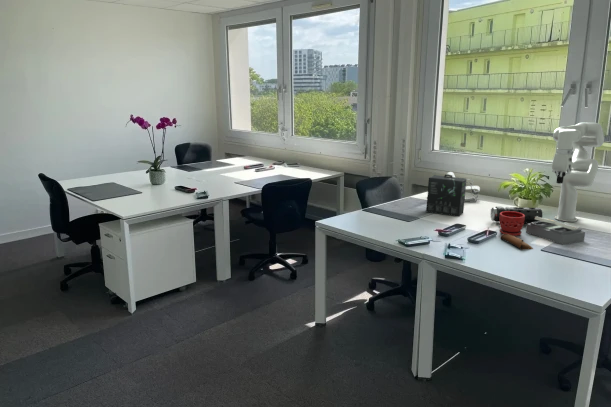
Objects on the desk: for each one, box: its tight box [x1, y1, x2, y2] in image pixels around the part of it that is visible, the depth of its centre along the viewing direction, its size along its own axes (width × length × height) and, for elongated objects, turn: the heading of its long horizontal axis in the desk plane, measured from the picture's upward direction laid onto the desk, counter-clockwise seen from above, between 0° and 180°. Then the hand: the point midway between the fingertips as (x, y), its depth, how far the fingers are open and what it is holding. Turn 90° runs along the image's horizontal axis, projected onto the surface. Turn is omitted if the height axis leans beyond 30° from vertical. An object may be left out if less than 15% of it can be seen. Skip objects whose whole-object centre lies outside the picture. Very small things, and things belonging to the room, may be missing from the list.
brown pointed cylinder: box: [500, 234, 534, 251], centre depth 241 cm, size 18×7×7 cm
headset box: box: [425, 173, 467, 218], centre depth 302 cm, size 22×12×26 cm, turn 58°
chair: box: [446, 171, 481, 203], centre depth 342 cm, size 13×25×20 cm, turn 66°
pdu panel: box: [525, 221, 586, 246], centre depth 255 cm, size 16×28×6 cm, turn 21°
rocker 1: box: [535, 216, 557, 224], centre depth 258 cm, size 12×5×2 cm, turn 112°
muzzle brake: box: [490, 206, 543, 224], centre depth 279 cm, size 10×28×10 cm, turn 85°
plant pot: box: [498, 211, 525, 237], centre depth 257 cm, size 13×13×12 cm
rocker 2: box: [555, 221, 577, 230], centre depth 246 cm, size 12×5×2 cm, turn 112°
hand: (559, 183), depth 264 cm, fingers closed
